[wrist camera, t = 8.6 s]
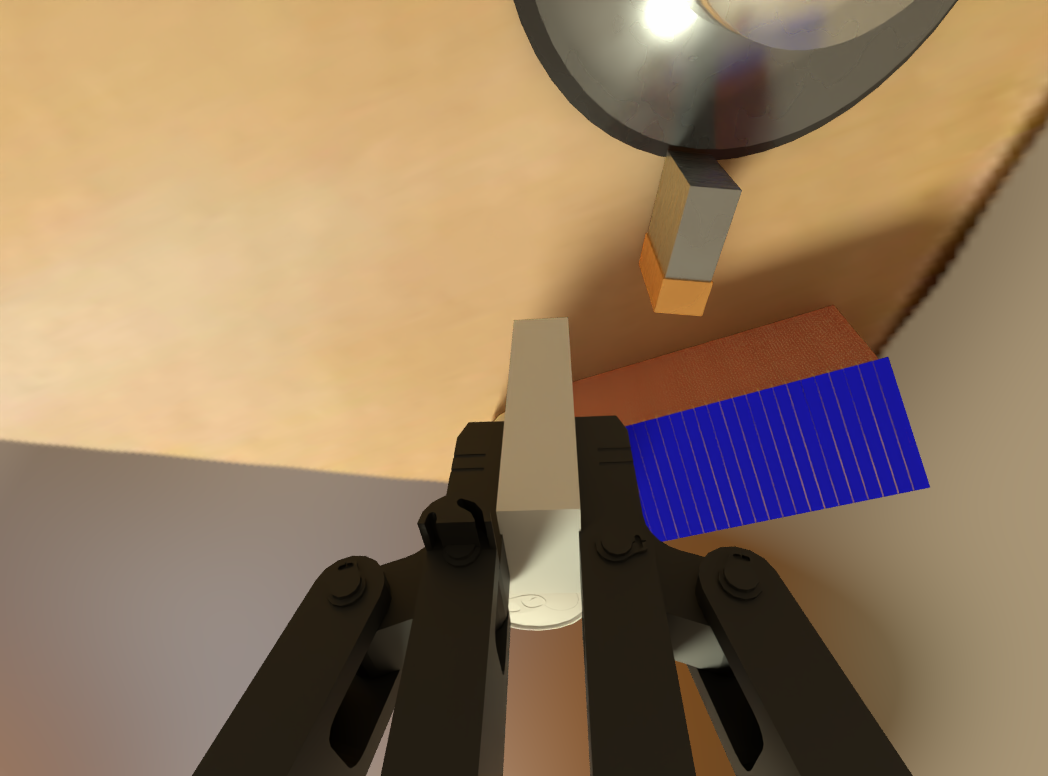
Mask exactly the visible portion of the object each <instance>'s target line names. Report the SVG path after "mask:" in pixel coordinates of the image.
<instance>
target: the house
mask: <svg viewBox="0 0 1048 776" xmlns="http://www.w3.org/2000/svg"><path fill="white" fill-rule="evenodd" d="M572 386H573V401H574V417H586V416H611V415H616V416H617V417H618V418H619V420H620V421H621V422H622V423H623V425H624V426H625V427H626V428H627V430H628V434H629V440H630V445H631V451H632V457H633V464H634V468H635V473H636V479H637V484H638V490H639V496H640V501H641V507H642V512H643V517H644V520H645V523H646V525H647V527H648V528H649V530H650V531H651V533H652V534H653V535H654V536H655V537H656V538H658V539H659V540H660V541H661V542H662V541H667V540H672V539H677V538H682V537H687V536H692V535H697V534H702V533H707V532H712V531H716V530H721V529H726V528H732V527H737V526H742V525H747V524H751V523H757V522H761V521H766V520H771V519H776V518H781V517H786V516H791V515H796V514H801V513H806V512H811V511H815V510H821V509H826V508H831V507H836V506H840V505H846V504H850V503H855V502H860V501H865V500H870V499H875V498H880V497H885V496H890V495H895V494H900V493H904V492H910V491H915V490H919V489H925V488H929V487H930V485H929V482H928V479H927V476H926V473H925V470H924V467H923V464H922V461H921V457H920V454H919V452H918V448H917V445H916V442H915V439H914V436H913V432H912V429H911V426H910V423H909V420H908V417H907V414H906V411H905V408H904V405H903V401H902V398H901V395H900V392H899V389H898V386H897V383H896V379H895V376H894V373H893V370H892V367H891V364H890V361H889V358H888V357H885V358H882V359H878V358H877V356H876V355H875V354H874V353H873V352H872V350H871V349H870V348H869V347H868V346H867V344H866V343H865V342H864V341H863V340H862V338H861V337H860V336H859V335H858V334H857V332H856V331H855V330H854V329H853V328H852V326H851V325H850V324H849V323H848V322H847V320H846V319H845V318H844V317H843V316H842V314H841V313H840V312H839V311H838V310H837V308H836V307H835V306H834V305H832V306H828V307H825V308H822V309H818V310H815V311H812V312H808V313H805V314H801V315H798V316H795V317H791V318H788V319H784V320H781V321H778V322H774V323H771V324H767V325H764V326H761V327H757V328H754V329H750V330H747V331H744V332H740V333H737V334H734V335H730V336H727V337H723V338H720V339H717V340H713V341H710V342H706V343H703V344H700V345H696V346H693V347H689V348H686V349H683V350H679V351H676V352H672V353H669V354H666V355H662V356H659V357H655V358H652V359H649V360H645V361H642V362H639V363H635V364H632V365H628V366H625V367H622V368H618V369H615V370H611V371H608V372H605V373H601V374H598V375H594V376H591V377H588V378H584V379H581V380H577V381H574V382H572Z"/></svg>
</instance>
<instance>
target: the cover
mask: <svg viewBox="0 0 1048 776" xmlns="http://www.w3.org/2000/svg"><path fill="white" fill-rule="evenodd" d="M683 1H684V2H685V3H686V5H687V6H688V7H689V8H690V9H691V10H692V11H693V12H695V13H696V14H697V15H698V16H700V17H701V18H702V19H704V20H706V21H708V22H710V23H711V24H713V25H715V26H718V27H720V28H723V29H725V30H728V31H730V32H733V33H735V34H738V35H740V36H743V37H745V38H748V39H750V40H752V41H755V42H758V43H761V44H763V45H766V46H769V47H773V48H779V49H785V50H811V49H818V48H825V47H829V46H832V45H836V44H839V43H843V42H846V41H848V40H851V39H853V38H855V37H858V36H860V35H863V34H865V33H866V32H868V31H870V30H872V29H874V28H875V27H877V26H879V25H881V24H883V23H884V22H886V21H887V20H889V19H890V18H892V17H893V16H895V15H896V14H897V13H899V12H900V11H902V10H903V9H904V8H906V7H907V6H908V5H909V4H910V3H912V2H913V1H914V0H683Z"/></svg>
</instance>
